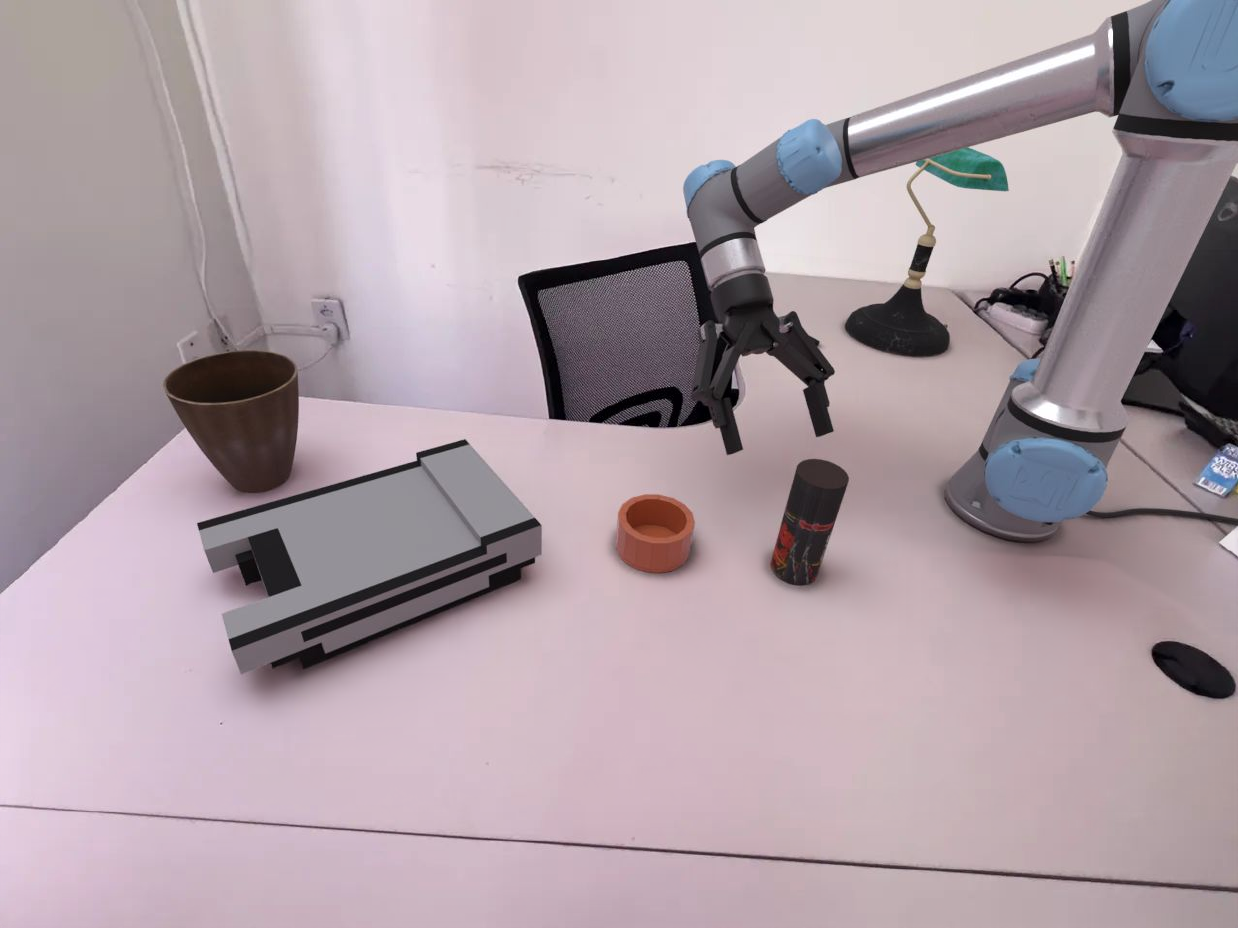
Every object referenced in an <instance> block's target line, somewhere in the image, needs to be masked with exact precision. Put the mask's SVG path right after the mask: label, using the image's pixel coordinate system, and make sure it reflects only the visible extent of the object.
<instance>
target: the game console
mask: <svg viewBox="0 0 1238 928" xmlns="http://www.w3.org/2000/svg"><path fill="white" fill-rule="evenodd" d="M415 455H416V460H414V461H410V462H406V463H403V464H400V465H399V464H398V465H396V466H394V467H389V468H385V469H383V470H378V471H375V472H371V473H367V474H365V475H361V476H358V477H353V478H351V479H346V480H343V481H340V482H336V483H333V484H329V485H325V486H323V487H319V488H316V489H315V488H314V489H311V490H308V491H305V492H302V493H298V494H294V495H291V496H290V495H289V496H287V497H283V498H279V499H277V500H273V501H270V502H265V503H262V504H259V505H255V506H252V507H248V508H245V509H241V510H238V511H234V512H231V513H227V514H224V515H220V516H217V517H213V518H209V519H206V520H204V521H203V520H202V521H199V522H197V523H196V525H197V530H198V533H199V536H200V537H199V538H200V540H201V544H202V547H203V551H204V553H205V556H206V559H207V561H208V564H209V566H210V568H211V572H212V574H215V573H218V572H221V571H224V570H227V569H230V568H233V567H237V566H238V568H239V571H240V574H241V576H242V579H243V583H244V585H245V586H249V585H253V584H255V583H258V582H262V584H263V587H264V590H265V592H266V594H267V597H265V598H263V599H262V598H261V599H260V600H256V601H253V602H250V603H249V604H246V605H245V604H244V605H243V606H240V607H237V608H235V609H232V610H228V611H225V612H222V613H221V617H222V621H223V625H224V629H225V631H226V636H227V639H228V643H229V647H230V650H231V653H232V655H233V658H234V661H235V663H236V667H237V668H238V670H239V673H240V675H243V674H246V673H248V672H251V671H253V670H256V669H258V668H261V667H263V666H265V665H269V664H270V666H271V668H272V669H273V670H274V669H276V668H279V667H282V666H284V665H286V664H289V663H291V662H294V661H295V660H299V662H300V665H301V667H302V669H303V670H306V669H308V668H311V667H313V666H316V665H318V664H320V663H323V662H325V661H327V660H330V659H332V658H334V657H337V656H340V655H342V654H345V653H346V652H349V651H352V650H354V649H357V648H359V647H361V646H363V645H366V644H368V643H369V644H370V643H371V642H373V641H376V640H379V639H381V638H383V637H385V636H388V635H390V634H392V633H395V632H397V631H400V630H402V629H405V628H407V627H409V626H413V625H415V624H417V623H419V622H422V621H424V620H426V619H429V618H431V617H434V616H436V615H438V614H439V615H440V614H442V613H443V612H446V611H449V610H450V609H453V608H456V607H459V606H461V605H463V604H465V603H468V602H470V601H473V600H475V599H477V598H480V597H483V596H485V595H487V594H490V593H491V592H495V591H497V590H499V589H501V588H504V587H506V586H510V585H512V584H513V583H516V582H519V581H521V580H522V569H524V568H526V567H529V566H531V565H533V564H535V563H536V557H539V556H542V552H543V551H542V546H543V544H542V543H543V542H542V539H543V538H542V534H543V533H542V530H543V529H542V527H543V525H542V524H541V522H540V521H539V520H538V519H537V518H536V516H534V514H533V513H532V512H531V511H530V510H529V509H528V508H527V507H526V506H525V504H523V502H522V501H521V500H520V499H519V497H517V496H516V494H515V493H514V492H513V491H512V490H511V489H510V487H509V486H508V485H507V484H506V483H505V482H504V480H502V479H501V477H500V476H499V474H497V473H496V472H495V471H494V469H493V468H492V467H491V466H490V465H489V464H488V463H487V461H486V460H485V459H484V458H483V457H482V456H481V455H480V454H479V452H477V451H476V449H475V448H474V447H473V446H472V445H471V444H470V442H469V441H468V440H467V439H466V438H464V439H460V440H457V441H453V442H449V443H447V444H443V445H442V444H441V445H438V446H436V447H432V448H428V449H424V450H421V451H417V452H416V453H415Z"/></svg>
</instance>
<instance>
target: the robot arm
mask: <svg viewBox="0 0 1238 928" xmlns="http://www.w3.org/2000/svg"><path fill="white" fill-rule="evenodd" d="M1091 113H1100V114H1102V115H1104V116H1106V117H1108V118H1114V117H1116V116H1117V117H1116V119H1115V123H1114V125H1113V127H1112V131H1111V133H1112V134H1113V136H1114V138H1115V140H1116V142H1117V144H1118V145H1119V147H1120V148H1121V157H1120V158H1119V159H1120V160H1119V161H1118V164H1117V167H1116V170H1115V172H1114V174H1113V177H1112V179H1111V181H1110V185H1109V187H1108V190H1107V192H1106V195H1105V197H1104V199H1103V201H1102V204H1101V206H1100V210H1099V212H1098V214H1097V217H1096V220H1095V222H1094V225H1093V226H1092V229H1091V232H1090V234H1089V237H1088V240H1087V242H1086V244H1085V247H1084V250H1083V251H1082V255H1081V256H1080V260H1079V262H1078V265H1077V266H1076V269H1075V272H1074V275H1073V278H1072V279H1071V282H1070V284H1069V287H1068V289H1067V292H1066V295H1065V297H1064V300H1063V303H1062V305H1061V307H1060V310H1059V312H1058V315H1057V317H1056V320H1055V322H1054V324H1053V327H1052V330H1051V333H1050V335H1049V337H1048V340H1047V342H1046V344H1045V347H1044V349H1043V352H1042V355H1041V358H1029V359H1025V360H1023V361H1021V362H1019V363H1018V364H1017V366H1016V368H1015V369H1014V371H1013V373H1012V375H1010V376H1009V378H1008V380H1009V382H1008V384H1007V386H1006V389H1005V391H1004V393H1003V395H1002V397H1001V400H1000V401H999V404H998V406H997V408H996V410H995V412H994V415H993V417H992V419H991V421H990V423H989V425H988V427H987V430H986V431H985V434H984V436H983V439H982V441H981V443H980V445H979V447H978V449H977V451H976V452H975V453H974V454H973V455H972V456H971V457H970V458H969V459H968V460H967V461H966V462H965V463H964V464H963V465H962V466H961V467H960V468H958V470H957V471H956V472H955V473H954V474H953V475H952V476H951V478H950V479H949V481H948V483H947V485H946V487H945V491H944V498H945V500H946V502H947V504H948V506H949V507H950V509H951V510H952V511H953V512H954V513H955V514H956V515H957V516H958V517H959V518H961V519H962V520H963V521H965V522H966V523H968V524H969V525H971V526H972V527H974V528H976V529H979V530H980V531H982V532H984V533H986V534H989V535H992V536H995V537H997V538H1000V539H1004V540H1008V541H1013V542H1019V543H1037V542H1043V541H1046V540H1049V539H1051V537H1053V536H1054V535H1055V533H1056V531H1057V529H1058V528H1059V526H1060V524H1061V522H1063V521H1066V520H1067V521H1068V520H1071V519H1077V518H1079V517H1082V516H1084V515H1088V516H1090V517H1097V518H1115V517H1121V516H1126V515H1132V514H1161V515H1162V514H1163V515H1175V516H1185V517H1194V518H1202V519H1208V520H1215V521H1219V522H1226V523H1231V524H1236V525H1237V524H1238V518H1234V517H1230V516H1223V515H1219V514H1211V513H1205V512H1197V511H1189V510H1181V509H1180V510H1179V509H1171V508H1170V509H1169V508H1149V507H1146V508H1145V507H1144V508H1142V507H1141V508H1140V507H1139V508H1138V507H1137V508H1129V509H1124V510H1117V511H1109V512H1104V511H1103V512H1102V511H1094V510H1093V509H1094V508H1096V506H1097V505H1098V504H1099V503H1100V501H1101V500H1102V498H1103V496H1104V494H1105V492H1106V490H1107V487H1108V481H1109V476H1108V471H1107V468H1108V465H1109V463H1110V461H1111V459H1112V456H1113V454H1114V453H1115V451H1116V449H1117V446H1118V444H1119V443H1120V441H1121V439H1122V436H1123V435H1124V432H1125V430H1126V429H1127V427H1128V425H1129V422H1130V420H1131V419H1130V414H1129V413H1128V411H1127V409H1126V408H1125V406H1124V405H1123V402H1122V399H1123V397H1124V395H1125V393H1126V391H1127V389H1128V386H1129V385H1130V383H1131V381H1132V379H1133V377H1134V376H1135V372H1136V370H1137V368H1138V367H1139V364H1140V362H1141V360H1142V358H1143V356H1144V354H1145V352H1146V350H1147V348H1148V346H1149V344H1150V342H1151V340H1152V338H1153V336H1154V334H1155V332H1156V330H1157V328H1158V326H1159V324H1160V322H1161V319H1162V317H1163V315H1164V314H1165V311H1166V309H1167V307H1168V305H1169V303H1170V301H1171V299H1172V297H1173V295H1174V293H1175V291H1176V289H1177V287H1178V284H1179V283H1180V281H1181V278H1182V276H1183V274H1184V273H1185V270H1186V268H1187V266H1188V264H1189V262H1190V261H1191V258H1192V257H1193V254H1194V252H1195V250H1196V248H1197V246H1198V244H1199V241H1201V240H1200V239H1202V235H1203V234H1204V232H1205V229H1206V227H1207V226H1208V224H1209V222H1210V219H1211V217H1212V215H1213V213H1214V211H1215V209H1216V207H1217V205H1218V203H1219V201H1220V199H1221V197H1222V195H1223V193H1224V190H1225V189H1226V186H1227V184H1228V183H1229V180H1230V179H1231V176H1232V174H1233V172H1234V170H1235V168H1236V166H1237V164H1238V0H1150V1H1147V2H1145V3H1143V4H1141V5H1137V6H1136V7H1133V8H1130V9H1128V10H1125V11H1123V12H1119V13H1117V14H1114V15H1111V16H1108V17H1105V19H1104V20H1103V22H1102V23H1101V24H1100V25H1099V26H1098V28H1097V29H1096V30H1095V31H1094V32H1093V33H1090V34H1087V35H1085V36H1082V37H1079V38H1076V39H1073V40H1069V41H1067V42H1065V43H1061V44H1059V45H1055V46H1053V47H1050V48H1046V49H1043V50H1041V51H1038V52H1035V53H1032V54H1028V55H1027V56H1026V55H1025V56H1023V57H1020V58H1018V59H1015V60H1011V61H1009V62H1006V63H1003V64H1000V65H997V66H994V67H991V68H989V69H985V70H983V71H979V72H977V73H974V74H971V75H968V76H964V77H962V78H958V79H956V80H953V81H950V82H947V83H944V84H942V85H939V86H936V87H933V88H930V89H926V90H924V91H921V92H918V93H915V94H912V95H910V96H906V97H904V98H900V99H898V100H894V101H892V102H889V103H886V104H883V105H880V106H877V107H874V108H872V109H869V110H865V111H863V112H860V113H857V114H854V115H852V116H850V117H846V118H842V119H839V120H835V121H833V122H830V123H827V124H825V123H823V122H822V121H821V120H820V119H818V118H809V119H807V120H805V121H804V122H802V123H800V124H799V125H797V126H795V127H792V128H791V129H788V130H787V131H785V132H784V133H783V134H782V135H781V136H780V137H779V138H777V139H776V140H774V141H772V142H771V143H770V144H769V145H767V146H765V147H764V148H763V149H761V150H760V151H758V152H757V153H755V154H754V155H753V156H751V157H749V158H748V159H746V160H745V161H744V162H742V163H741V164H739V165H737V166H736V165H735V163H733V162H732V161H730V160H728V159H727V160H726V159H715V160H711V161H709V162H708V163H706V164H701V165H699V166H697V167H695V168H694V169H693V170H692V171H690V172H689V173H688V175H687V176H686V178H685V180H684V182H683V185H682V192H683V197H684V203H685V207H686V217H687V219H688V221H689V222H690V226H691V229H692V233H693V236H694V241H695V243H696V247H697V251H698V255H699V258H700V263H701V266H702V270H703V274H704V277H705V282H706V285H707V289H708V291H710V292H711V293H710V295H709V298H710V302H711V305H712V309H713V312H714V316H715V319H716V320H717V321H718V323H715V321H714V320H711V319H708V320H707V321H706V322H705V323H703V324H702V325H701V326H700V327H699V328H698V329H697V337H698V342H699V347H698V353H697V356H696V357H697V358H696V363H695V369H694V373H693V380H692V385H691V391H690V399H691V400H692V401H693V402H698V401H699V402H701V404H702V405H703V406H705V407H708V409H709V414H710V417H711V421H712V425H713V427H714V429H715V430H716V429H719V431H720V434H721V438H722V442H723V446H724V449H725V454H726V456H731V455H733V454H736V453H738V452H741V451H743V450H744V447H743V443H742V439H741V435H740V431H739V428H738V424H737V421H736V416H735V413H734V409H733V406H732V405H733V404H732V402H731V398H730V397H723V396H724V394H725V391H726V389H727V387H728V384H729V382H730V380H731V378H732V376H733V373H734V371H735V368H736V366H737V364H738V361H739V359H740V357H748V356H749V355H750V356H751V355H762V354H764V353H765V354H767V355H768V356H771V357H773V358H774V359H776V360H777V361H778V362H780V363H781V365H783V366H784V367H785V368H786V369H787V370H789V371H790V372H791V373H792V374H793V375H794V376H795V377H797V378H798V379H799V380H800V381H801V382H803V384H804V385H806V386H807V387H805V388H802V393H803V396H804V399H805V403H806V407H807V410H808V414H809V418H810V421H811V424H812V427H813V432H814V435H815V438H820V437H823V436H825V435H828V434H830V433H833V432H835V430H834V427H833V422H832V420H831V416H830V412H829V409H828V408H829V407H830V399H829V396H828V392H827V388H826V385H825V381H828V379H829V378H830V377H832V376H834V375H835V373H836V371H835V368H834V367H833V366H832V364H831V363H830V362H829V360H828V359H827V357H826V355H824V353H823V352H822V351H821V350H820V349H819V347H818V346H816V344H815V343H814V342H813V340H812V339H811V338H810V336H811V335H809V334H808V332H807V331H806V329H804V327H803V325H802V323H801V321H800V317H799V315H798V313H797V312H796V311H794V310H791V311H789V312H788V313H786V314H785V315H782V316H777V314H776V313H775V311H774V302H775V301H774V294H773V292H772V288H771V284H770V281H769V278H768V276H766V275H765V274H766V271H767V270H766V266H765V263H764V259H763V256H762V253H761V249H760V246H759V242H758V239H757V235H756V230H755V228H757V226H759V225H761V224H763V223H765V222H767V221H768V220H769V219H771V218H773V217H775V216H777V215H778V214H780V213H782V212H784V211H786V210H788V209H789V208H792V207H793V206H795V205H796V204H798V203H800V202H802V201H804V200H806V199H807V198H809V197H811V196H813V195H816V194H818V193H819V192H821V191H822V190H824V189H827V188H830V187H833V186H837V185H840V184H844V183H847V182H851V181H854V180H857V179H860V178H863V177H868V176H870V175H874V174H878V173H881V172H885V171H888V170H892V169H896V168H899V167H903V166H906V165H910V164H913V163H916V162H917V161H921V160H924V159H928V158H931V157H935V156H939V155H942V154H946V153H949V152H953V151H956V150H960V149H964V148H967V147H968V148H971V147H974V146H977V145H981V144H985V143H989V142H992V141H995V140H999V139H1003V138H1006V137H1010V136H1013V135H1017V134H1021V133H1024V132H1027V131H1031V130H1035V129H1038V128H1041V127H1045V126H1048V125H1052V124H1056V123H1059V122H1062V121H1067V120H1071V119H1074V118H1077V117H1081V116H1084V115H1088V114H1091ZM779 328H780V330H779V331H780V332H779V331H778V329H779ZM782 333H783V334H784V335H783V334H782ZM720 337H721V338H722V339H723V340H724V342H726V345H725V348H724V351H723V353H722V355H721V357H722V358H721V360H720V362H719V364H718V367H717V369H716V372H715V374H714V376H713V378H712V375H713V368H714V363H715V358H716V357H715V356H716V351H717V346H718V339H719V338H720ZM775 342H776V343H775ZM789 343H790V344H789ZM711 379H712V380H711ZM722 397H723V398H722Z"/></svg>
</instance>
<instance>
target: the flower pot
mask: <svg viewBox="0 0 1238 928" xmlns="http://www.w3.org/2000/svg"><path fill="white" fill-rule="evenodd" d="M162 389H163V391H164V393H165V394H166V397H167V399H168V400H169V402H170V404H171V406H172V408H173V409H174V411H175V413H176V415H177V416H178V418H179V419H180V421H181V423H182V425H183V426H184V427H185V429H186V431H187V432H188V433H189V435H190V437H191V438H192V440H193V441H194V442H195V444H196V446H198V448H199V449H200V451H201V453H203V455H204V456H205V457H206V458H207V459H208V461H209V462H210V464H211V465H212V466H213V467H214V468H215V470H216V471H218V473H219V474H220V475H221V476H222V477H223V478H224V479H225V480H226V481H227V483H228V484H229V485H230V486H232V488H234V489H235V490H237V491H239V492H242V493H249V494H251V493H252V494H255V493H263V492H268V491H271V490H274V489H276V488H278V487H280V486H282V485H283V484H285V483H286V482H287V481H288V480H289V478H290V476H291V473H292V469H293V464H294V461H295V460H294V459H295V453H296V448H297V440H298V432H299V431H298V430H299V416H300V396H299V395H300V392H299V391H300V390H299V374H298V366H297V363H296V362H295V361H294V360H292V359H291V358H290V357H288V356H286V355H284V354H282V353H278V352H273V351H268V350H257V349H255V350H254V349H247V350H246V349H244V350H230V351H223V352H218V353H213V354H208V355H205V356H201V357H198V358H195V359H192V360H190V361H187V362H185V363H183V364H181V365H179V366H177V367H175V368H174V369H173V370H172V371H171V372H169V374H167V375H166V377H165V378H164V380H163V382H162Z"/></svg>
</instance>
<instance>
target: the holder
mask: <svg viewBox="0 0 1238 928" xmlns="http://www.w3.org/2000/svg"><path fill="white" fill-rule="evenodd" d="M619 508H620V509H619V510H618V512H617V519H616V531H615V549H616V552H617V554H618V556H619V558H621V560H622V561H623V562H624V563H625V564H627V565H628V566H630V567H632V568H634V569H636V570H637V571H641V572H645V573H650V574H651V573H652V574H653V573H654V574H662V573H668V572H672V571H674V570H677V569H679V568H680V567H682V566H683V565H684V564H685V563H686V561H687V560H688V559H689V555H690V551H691V548H692V542H693V538H694V537H693V536H694V532H695V525H696V520H695V518H694V514H693V511H691V509H689V507H688V506H687V505H686V504H685V503H683V502H682V501H680V500H679V499H678V500H677V499H676V498H674V497H671V496H667V495H663V494H659V493H657V494H656V493H655V494H654V493H652V494H651V493H649V494H648V493H647V494H646V493H644V494H641V495H637V496H632V497H631V498H629V499H628V500H626V501H625V502H623V503H622V504H621V507H619Z"/></svg>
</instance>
